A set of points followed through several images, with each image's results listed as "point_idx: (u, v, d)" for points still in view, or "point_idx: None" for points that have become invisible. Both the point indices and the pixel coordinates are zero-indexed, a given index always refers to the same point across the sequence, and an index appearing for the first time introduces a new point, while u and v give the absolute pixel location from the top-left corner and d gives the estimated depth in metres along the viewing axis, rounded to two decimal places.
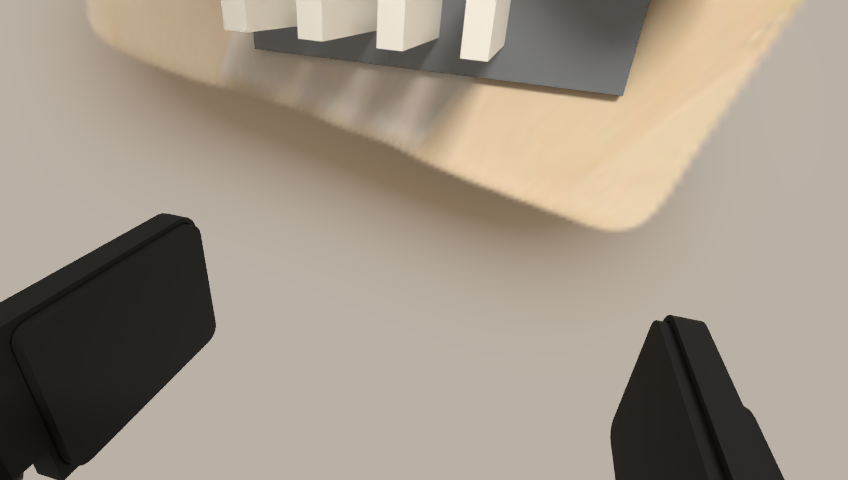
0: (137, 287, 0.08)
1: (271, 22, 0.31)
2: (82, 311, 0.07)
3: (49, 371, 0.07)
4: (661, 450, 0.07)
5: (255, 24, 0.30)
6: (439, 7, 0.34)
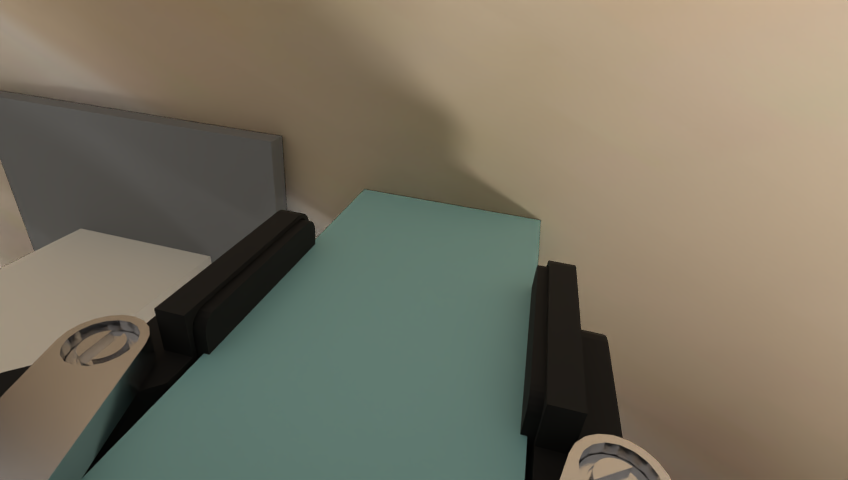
0: (274, 278, 0.09)
1: None
2: (240, 299, 0.08)
3: None
4: None
5: None
6: None
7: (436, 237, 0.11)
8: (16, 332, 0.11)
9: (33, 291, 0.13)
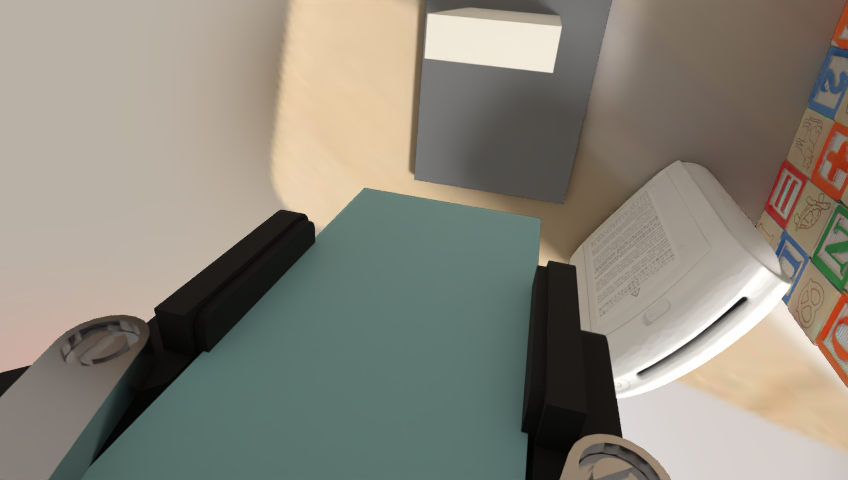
0: (274, 278, 0.09)
1: None
2: (240, 299, 0.08)
3: None
4: None
5: None
6: None
7: (436, 236, 0.11)
8: None
9: None
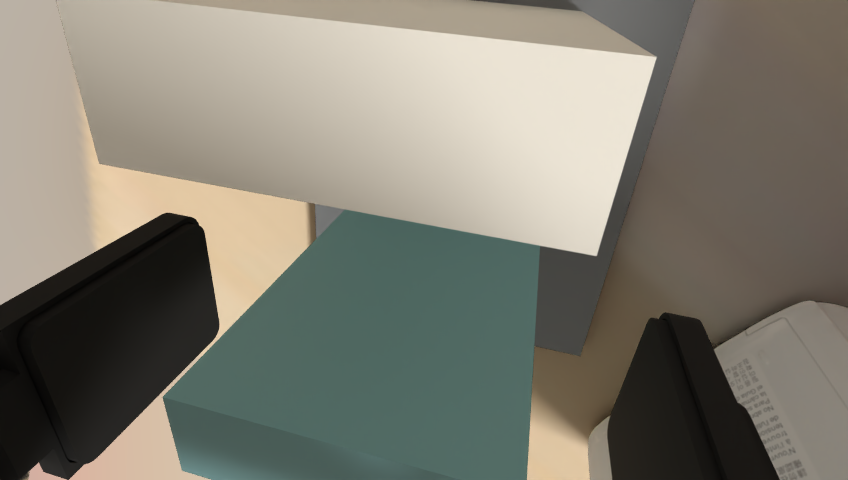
0: (142, 286, 0.08)
1: None
2: (88, 310, 0.07)
3: (55, 369, 0.07)
4: (656, 446, 0.07)
5: None
6: None
7: None
8: None
9: None
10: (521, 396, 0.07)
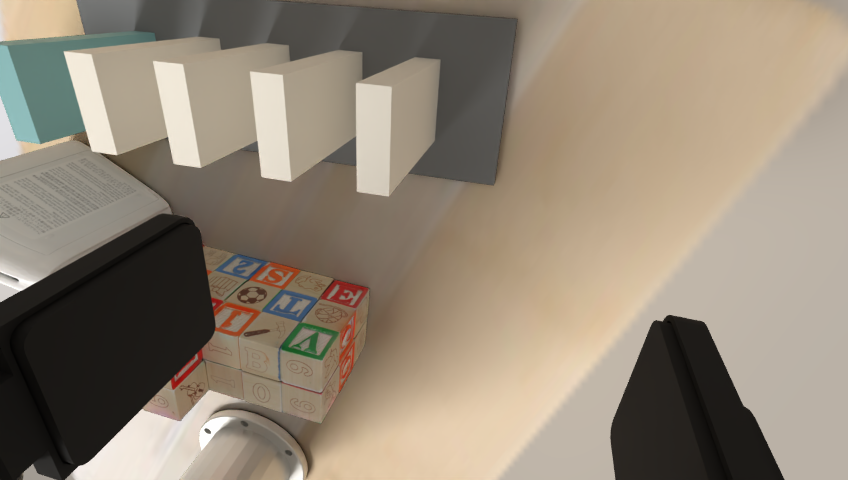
0: (137, 287, 0.08)
1: None
2: (82, 311, 0.07)
3: (49, 371, 0.07)
4: (661, 450, 0.07)
5: None
6: None
7: None
8: (418, 127, 0.26)
9: (426, 101, 0.26)
10: (65, 134, 0.27)
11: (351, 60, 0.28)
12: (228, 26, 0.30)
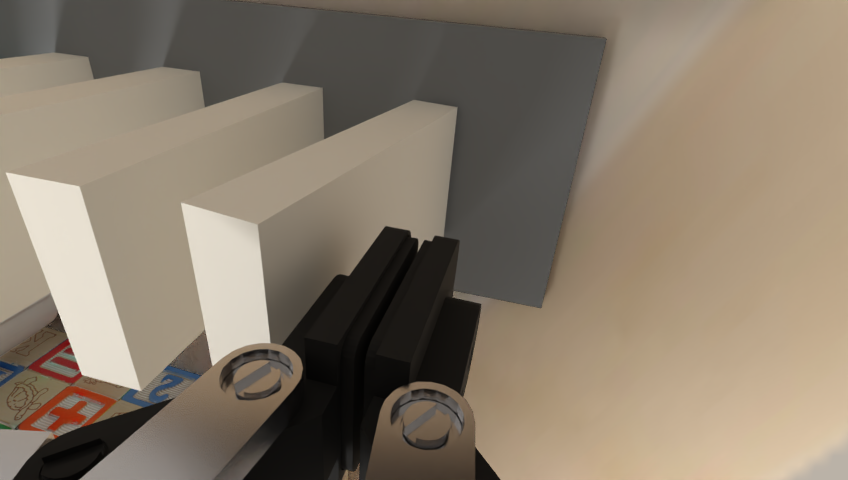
0: None
1: None
2: (374, 323, 0.08)
3: (358, 382, 0.07)
4: None
5: None
6: None
7: None
8: None
9: (415, 190, 0.14)
10: None
11: (299, 105, 0.15)
12: (99, 36, 0.18)
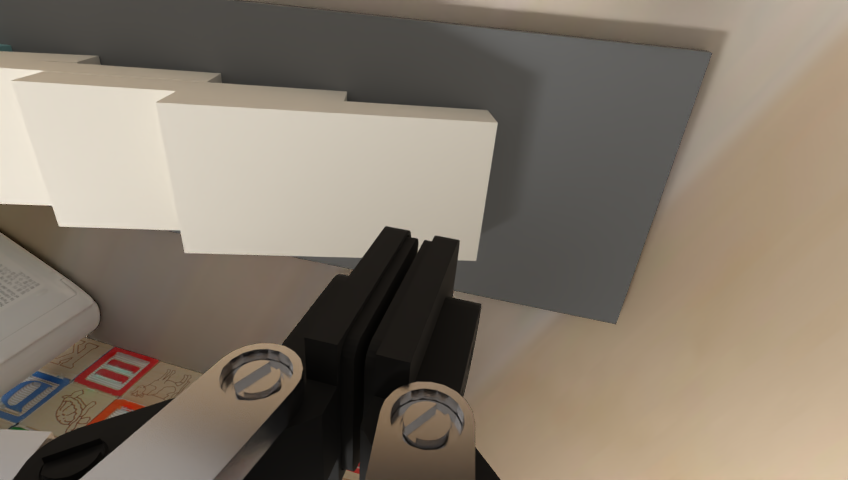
0: None
1: None
2: (374, 324, 0.08)
3: (358, 382, 0.07)
4: None
5: None
6: None
7: None
8: (343, 204, 0.15)
9: (388, 174, 0.15)
10: None
11: None
12: (167, 43, 0.18)
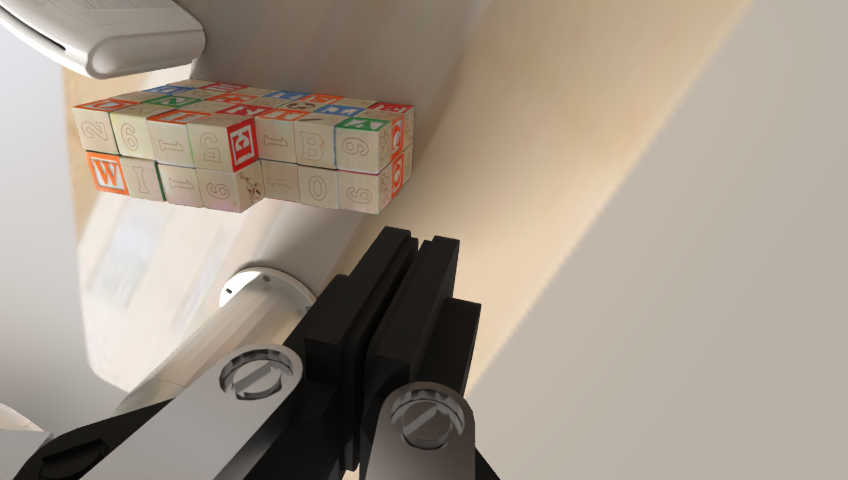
0: None
1: None
2: (374, 323, 0.08)
3: (358, 382, 0.07)
4: None
5: None
6: None
7: None
8: None
9: None
10: None
11: None
12: None
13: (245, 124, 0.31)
